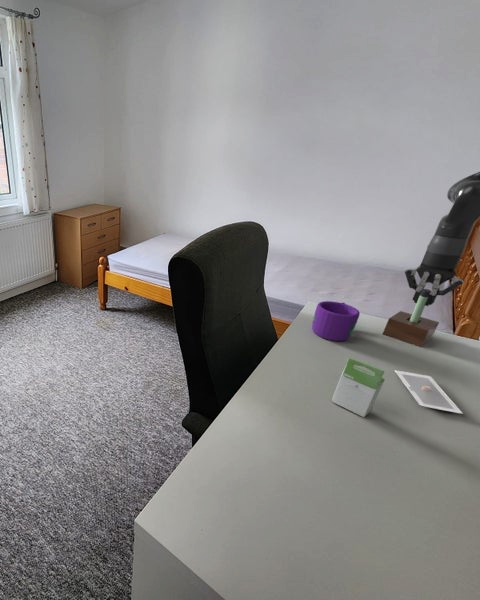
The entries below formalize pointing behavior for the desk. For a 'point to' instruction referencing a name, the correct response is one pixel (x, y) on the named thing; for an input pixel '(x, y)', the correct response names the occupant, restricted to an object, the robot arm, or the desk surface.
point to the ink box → (358, 387)
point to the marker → (420, 305)
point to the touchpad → (427, 391)
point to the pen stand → (410, 329)
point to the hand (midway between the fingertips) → (421, 303)
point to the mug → (334, 320)
